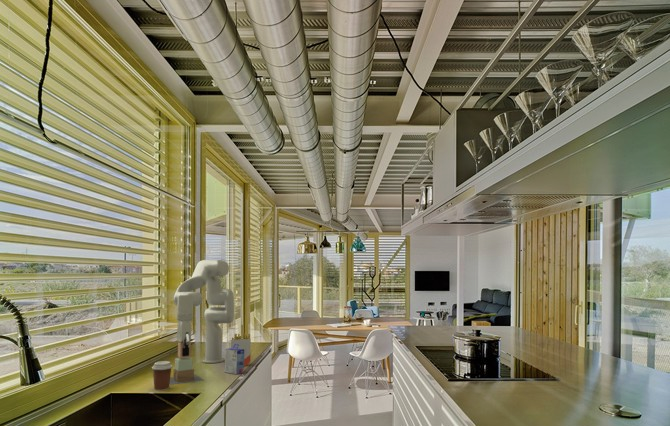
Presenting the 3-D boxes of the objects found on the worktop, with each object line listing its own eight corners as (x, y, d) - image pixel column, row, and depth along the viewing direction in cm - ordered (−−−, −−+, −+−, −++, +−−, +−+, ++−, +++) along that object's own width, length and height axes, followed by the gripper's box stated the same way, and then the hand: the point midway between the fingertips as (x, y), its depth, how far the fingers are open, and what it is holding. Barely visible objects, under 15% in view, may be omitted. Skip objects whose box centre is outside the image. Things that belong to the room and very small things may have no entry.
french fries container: (230, 365, 270) (231, 333, 272) (250, 364, 272) (250, 332, 274) (230, 367, 265) (231, 334, 267) (250, 365, 268) (250, 333, 270)
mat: (163, 379, 238) (163, 378, 238) (195, 375, 246) (195, 374, 246) (170, 385, 224) (170, 384, 224) (204, 381, 232) (204, 380, 232)
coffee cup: (167, 386, 224) (167, 359, 225) (175, 389, 217) (176, 362, 218) (147, 389, 217) (148, 362, 219) (155, 393, 211) (156, 365, 212)
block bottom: (173, 378, 236) (173, 368, 237) (189, 376, 240) (189, 366, 241) (177, 382, 230) (177, 371, 230) (193, 379, 234) (194, 369, 234)
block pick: (177, 356, 237) (178, 342, 238) (187, 355, 240) (188, 341, 241) (180, 358, 233) (180, 343, 234) (190, 356, 236) (190, 342, 236)
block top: (174, 368, 237) (175, 358, 237) (189, 366, 240) (189, 356, 241) (178, 371, 231) (178, 360, 231) (192, 369, 234) (193, 358, 235)
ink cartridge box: (244, 372, 250) (245, 344, 252) (236, 374, 246) (237, 346, 247) (232, 370, 256) (232, 343, 258) (224, 372, 252) (224, 344, 253)
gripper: (173, 317, 244) (172, 353, 242) (181, 319, 229) (180, 358, 227) (188, 316, 248) (187, 351, 246) (197, 318, 233) (196, 356, 231)
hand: (184, 354), depth 237 cm, fingers closed on block pick, 4 cm apart
